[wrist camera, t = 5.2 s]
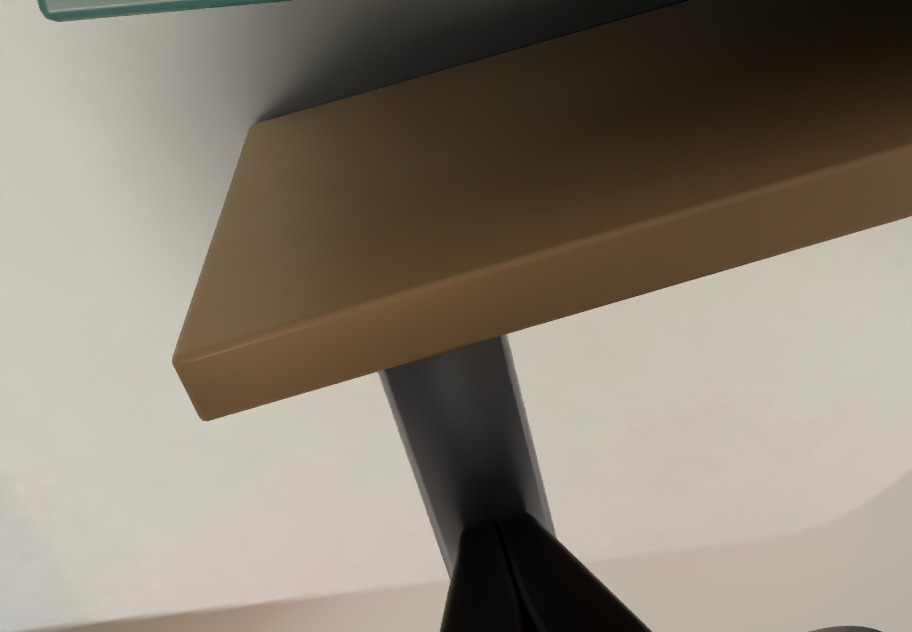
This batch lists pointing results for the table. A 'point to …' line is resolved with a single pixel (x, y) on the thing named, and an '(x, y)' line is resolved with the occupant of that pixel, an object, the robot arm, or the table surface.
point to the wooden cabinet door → (538, 215)
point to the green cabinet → (127, 7)
